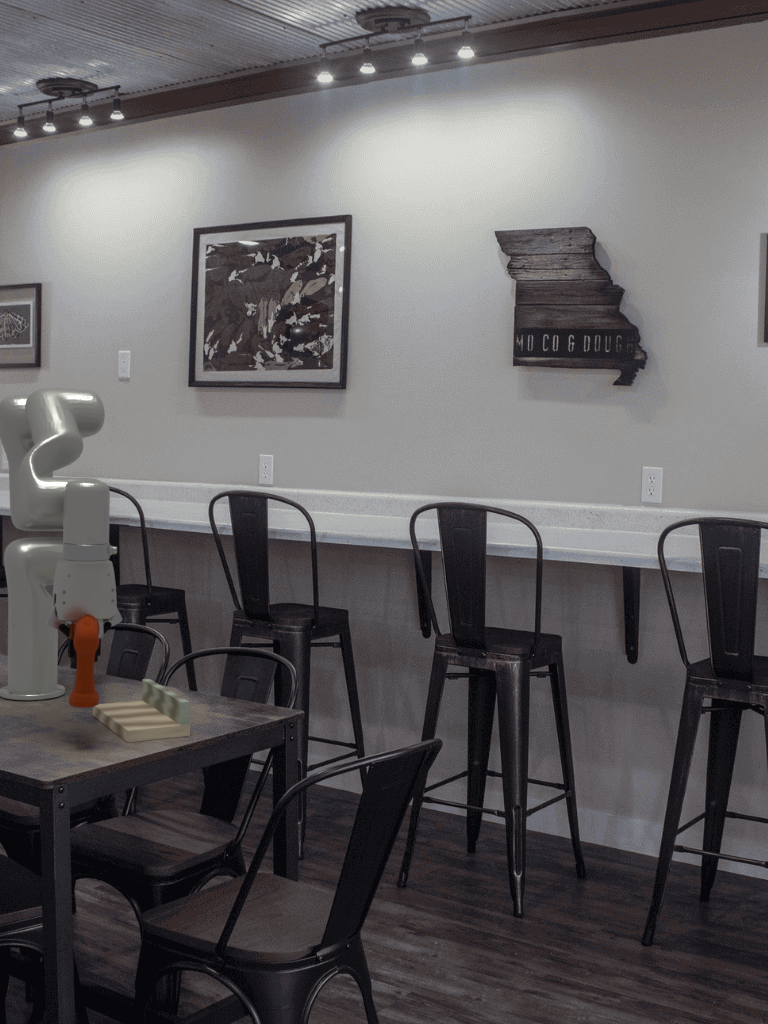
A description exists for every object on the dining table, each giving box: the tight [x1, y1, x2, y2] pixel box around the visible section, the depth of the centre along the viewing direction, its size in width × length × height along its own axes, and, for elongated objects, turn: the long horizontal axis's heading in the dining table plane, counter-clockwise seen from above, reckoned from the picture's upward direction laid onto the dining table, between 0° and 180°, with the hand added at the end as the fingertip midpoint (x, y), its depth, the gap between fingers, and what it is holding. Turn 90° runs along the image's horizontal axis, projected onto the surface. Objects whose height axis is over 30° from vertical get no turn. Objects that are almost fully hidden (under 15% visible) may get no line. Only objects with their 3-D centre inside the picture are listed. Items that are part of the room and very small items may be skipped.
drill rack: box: [92, 678, 191, 743], centre depth 197 cm, size 22×11×6 cm, turn 30°
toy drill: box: [68, 614, 100, 709], centre depth 186 cm, size 5×19×15 cm, turn 15°
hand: (83, 660), depth 187 cm, fingers closed on toy drill, 2 cm apart
